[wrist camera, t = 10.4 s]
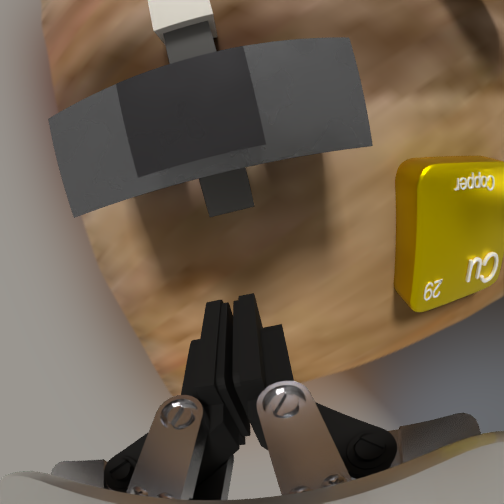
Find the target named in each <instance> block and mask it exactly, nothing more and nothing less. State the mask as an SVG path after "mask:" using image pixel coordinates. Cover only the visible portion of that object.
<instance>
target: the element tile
mask: <svg viewBox="0 0 504 504" xmlns="http://www.w3.org/2000/svg"><path fill="white" fill-rule="evenodd" d="M395 189H396V255H395V274H394V287H395V290H396V292H397V293H398V294H399V295H400V296H401V298H402V299H403V300H404V301H405V302H406V303H407V305H408V306H409V307H410V308H411V309H412V310H413V311H414V312H425V311H428V310H431V309H434V308H436V307H439V306H442V305H445V304H447V303H450V302H453V301H455V300H458V299H460V298H463V297H465V296H468V295H470V294H473V293H475V292H478V291H480V290H482V289H485V288H487V287H489V286H490V285H492V284H493V283H494V282H495V281H496V280H497V278H498V276H499V273H500V270H501V266H502V261H503V256H504V162H503V161H500V160H496V159H492V158H488V157H483V156H444V157H424V158H411V159H407V160H406V161H404V162H403V163H401V165H400V166H399V168H398V170H397V173H396V179H395Z"/></svg>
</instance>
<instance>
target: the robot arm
mask: <svg viewBox="0 0 504 504" xmlns="http://www.w3.org/2000/svg"><path fill="white" fill-rule="evenodd" d="M250 423H251V425H252V427H253V430H254V432H255V434H256V436H257V438H258V440H259V442H260V445H261V446H262V447H264V448H265V449H267V450H269V454H270V457H271V461H272V464H273V467H274V471H275V474H276V477H277V481H278V484H279V487H280V491H281V494H282V496H274V497H265V498H256V499H244V500H243V499H242V500H227V499H228V492H229V486H230V481H231V475H232V469H233V463H234V455H233V454H234V453H235V452H236V451H237V450H238V449H239V445H244V444H245V436H250ZM0 504H504V431H496V432H490V433H484V434H481V432H480V428H479V425H478V423H477V421H476V419H475V418H474V417H473V416H471V415H469V414H466V413H458V414H453V415H450V416H446V417H443V418H438V419H434V420H430V421H426V422H421V423H416V424H411V425H406V426H400V427H399V429H398V430H392V431H386V430H384V429H382V428H380V427H377V426H374V425H371V424H368V423H366V422H363V421H360V420H357V419H355V418H352V417H350V416H347V415H345V414H342V413H340V412H337V411H335V410H332V409H330V408H327V407H325V406H323V405H320V404H318V403H316V402H315V401H314V399H313V397H312V395H311V393H310V391H309V390H308V389H307V387H305V386H304V385H303V384H301V383H298V382H295V381H294V380H293V375H292V370H291V365H290V360H289V356H288V351H287V346H286V342H285V337H284V332H283V328H282V324H280V325H275V326H270V327H265V328H263V327H262V323H261V319H260V315H259V311H258V307H257V303H256V299H255V295H254V293H252V294H247V295H242V296H239V300H238V301H234V305H233V315H232V312H231V308H230V305H229V303H228V302H227V303H223V301H222V300H217V301H212V302H207V303H206V308H205V314H204V320H203V326H202V332H201V339H198V340H192V341H191V344H190V348H189V354H188V359H187V364H186V370H185V375H184V381H183V387H182V393H181V395H177V396H174V397H171V398H169V399H168V400H166V401H165V402H164V403H163V404H162V405H160V407H159V408H158V410H157V412H156V414H155V417H154V420H153V422H152V425H151V427H150V430H149V432H148V433H147V434H145V435H144V436H143V437H141V438H140V439H138V440H137V441H136V442H134V443H133V444H131V445H130V446H129V447H127V448H126V449H124V450H123V451H122V452H120V453H118V454H117V455H115V456H114V457H113V458H111V459H110V460H109V461H108V462H106V461H105V460H104V459H103V460H88V461H63V462H59V463H58V464H56V465H55V467H54V468H53V469H52V473H51V475H50V474H46V473H41V472H34V471H23V472H15V473H11V474H8V475H6V476H4V477H3V478H2V479H1V480H0Z"/></svg>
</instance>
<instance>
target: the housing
mask: <svg viewBox="0 0 504 504" xmlns="http://www.w3.org/2000/svg"><path fill="white" fill-rule="evenodd" d="M49 125H50V130H51V135H52V140H53V145H54V149H55V154H56V158H57V162H58V166H59V170H60V173H61V177H62V181H63V184H64V188H65V191H66V194H67V197H68V201H69V204H70V207H71V210H72V213H73V216H74V218H75V217H77V216H80V215H83V214H85V213H88V212H91V211H94V210H97V209H99V208H102V207H105V206H108V205H111V204H114V203H117V202H120V201H123V200H126V199H129V198H132V197H135V196H139V195H142V194H145V193H148V192H152V191H155V190H158V189H162V188H165V187H169V186H172V185H176V184H180V183H183V182H187V181H191V180H194V179H198V178H202V177H206V176H210V175H214V174H218V173H222V172H227V171H231V170H235V169H240V168H244V167H249V166H253V165H258V164H263V163H268V162H273V161H278V160H283V159H288V158H294V157H300V156H305V155H311V154H317V153H324V152H330V151H337V150H344V149H352V148H360V147H368V146H372V139H371V132H370V126H369V120H368V115H367V110H366V104H365V99H364V95H363V90H362V85H361V81H360V77H359V73H358V68H357V65H356V61H355V57H354V53H353V50H352V46H351V43H350V39H349V38H310V39H296V40H285V41H276V42H268V43H261V44H254V45H248V46H241V47H235V48H230V49H225V50H221V51H216V52H212V53H208V54H204V55H200V56H196V57H192V58H189V59H185V60H182V61H178V62H175V63H172V64H168V65H165V66H162V67H159V68H156V69H153V70H151V71H148V72H145V73H142V74H140V75H137V76H134V77H132V78H129V79H127V80H124V81H122V82H120V83H117V84H115V85H113V86H111V87H109V88H106V89H104V90H102V91H100V92H98V93H96V94H93V95H91V96H89V97H87V98H85V99H83V100H81V101H79V102H78V103H76V104H74V105H72V106H70V107H68V108H66V109H65V110H63V111H61V112H59V113H58V114H56V115H54V116H53V117H51V118H49Z"/></svg>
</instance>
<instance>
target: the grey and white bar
mask: <svg viewBox="0 0 504 504" xmlns="http://www.w3.org/2000/svg"><path fill="white" fill-rule="evenodd" d="M148 4H149V10H150V15H151V20H152V25H153V30H154V32H155V33H156V34H157V35H158V37H159V38H160V39H161V40H162V41H163V43H164V44H165V45H166V49H167V54H168V58H169V62H170V64H172V63H175V62H178V61H182V60H185V59H189V58H192V57H196V56H200V55H204V54H208V53H212V52H216V48H215V44H214V41H213V38H216V37H217V32H216V27H215V22H214V17H213V12H212V9H211V5H210V1H209V0H148ZM199 181H200V184H201V188H202V191H203V195H204V199H205V202H206V206H207V209H208V213H209V216H210V217H213V216H217V215H221V214H225V213H229V212H233V211H237V210H242V209H246V208H250V207H254V202H253V197H252V193H251V189H250V185H249V181H248V176H247V172H246V168H245V167H244V168H240V169H235V170H231V171H227V172H222V173H218V174H214V175H210V176H206V177H202V178H199Z"/></svg>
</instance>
